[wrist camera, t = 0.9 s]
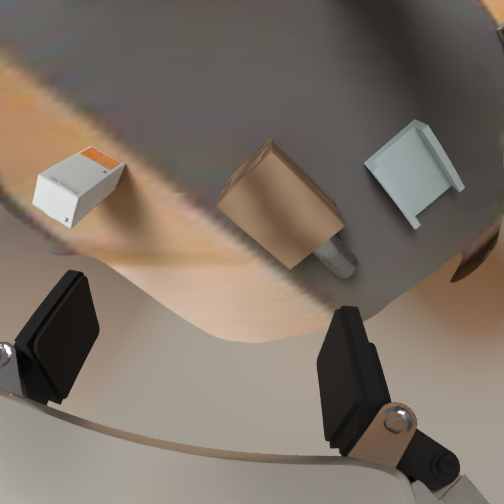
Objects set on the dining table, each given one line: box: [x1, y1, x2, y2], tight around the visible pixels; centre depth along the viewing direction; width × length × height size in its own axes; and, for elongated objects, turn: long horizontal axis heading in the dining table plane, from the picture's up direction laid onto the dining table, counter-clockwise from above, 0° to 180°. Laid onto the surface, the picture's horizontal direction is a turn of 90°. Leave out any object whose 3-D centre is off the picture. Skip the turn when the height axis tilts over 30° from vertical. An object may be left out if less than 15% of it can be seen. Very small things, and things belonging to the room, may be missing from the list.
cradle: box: [364, 119, 465, 230], centre depth 34 cm, size 9×10×4 cm
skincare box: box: [33, 146, 125, 229], centre depth 32 cm, size 6×4×12 cm
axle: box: [312, 235, 358, 279], centre depth 37 cm, size 17×4×4 cm, turn 46°
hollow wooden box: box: [216, 137, 345, 269], centre depth 35 cm, size 8×11×8 cm
